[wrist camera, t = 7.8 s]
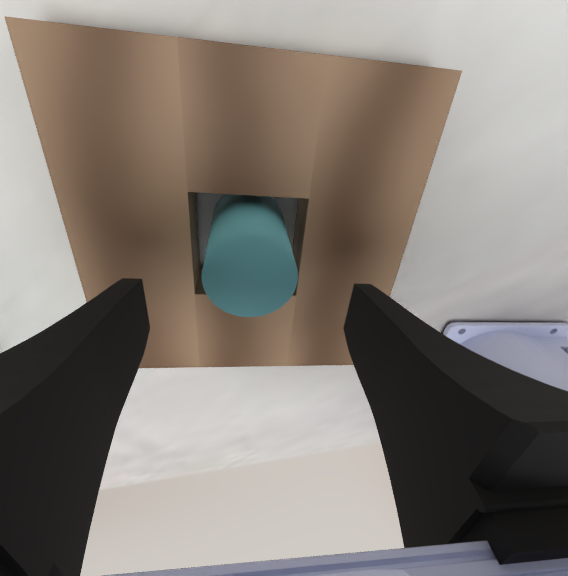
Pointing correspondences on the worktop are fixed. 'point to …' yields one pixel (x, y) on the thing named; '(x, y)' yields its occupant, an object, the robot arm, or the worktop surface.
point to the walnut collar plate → (230, 174)
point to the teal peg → (248, 257)
